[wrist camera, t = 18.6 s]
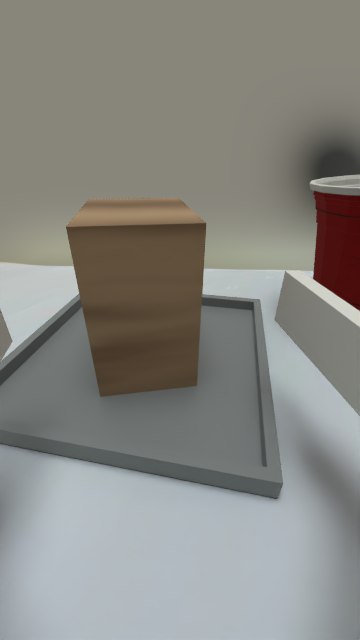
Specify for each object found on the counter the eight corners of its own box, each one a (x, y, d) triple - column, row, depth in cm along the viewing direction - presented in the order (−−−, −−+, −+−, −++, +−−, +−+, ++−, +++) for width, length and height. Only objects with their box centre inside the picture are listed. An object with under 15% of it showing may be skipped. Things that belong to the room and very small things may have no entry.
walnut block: (196, 385, 18) (206, 223, 12) (100, 396, 17) (66, 226, 11) (177, 321, 24) (178, 197, 19) (108, 326, 23) (88, 199, 18)
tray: (-54, 432, 15) (-64, 417, 14) (91, 294, 29) (90, 284, 29) (277, 498, 12) (283, 483, 12) (257, 310, 27) (259, 299, 26)
